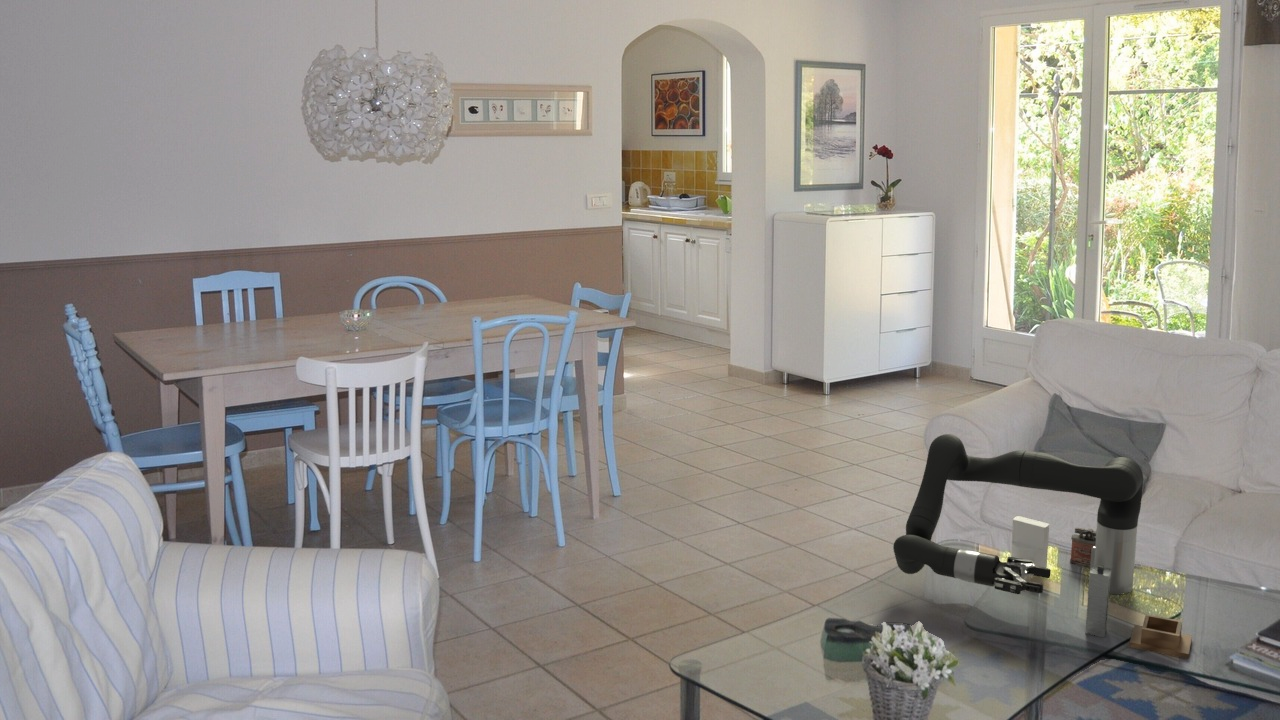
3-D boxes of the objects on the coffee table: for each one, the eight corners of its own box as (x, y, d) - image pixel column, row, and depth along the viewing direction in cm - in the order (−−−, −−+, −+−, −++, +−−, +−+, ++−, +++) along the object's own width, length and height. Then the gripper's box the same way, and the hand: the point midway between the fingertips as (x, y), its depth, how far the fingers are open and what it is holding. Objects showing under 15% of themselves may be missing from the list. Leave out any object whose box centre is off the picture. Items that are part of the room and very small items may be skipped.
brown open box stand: (1129, 646, 252) (1130, 628, 251) (1134, 629, 259) (1135, 610, 258) (1188, 658, 246) (1190, 639, 245) (1191, 640, 254) (1193, 621, 252)
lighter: (1103, 565, 291) (1106, 530, 289) (1101, 570, 289) (1103, 534, 286) (1071, 559, 296) (1073, 524, 293) (1068, 564, 293) (1070, 528, 290)
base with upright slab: (1052, 562, 294) (1055, 520, 291) (1037, 574, 288) (1040, 531, 285) (1020, 553, 300) (1022, 512, 297) (1004, 565, 294) (1006, 522, 291)
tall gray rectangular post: (1085, 633, 258) (1090, 567, 254) (1088, 626, 262) (1092, 560, 257) (1103, 637, 256) (1108, 571, 252) (1106, 629, 260) (1111, 564, 255)
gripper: (969, 565, 263) (1041, 579, 255) (984, 541, 275) (1053, 554, 267) (968, 593, 265) (1039, 608, 257) (982, 569, 277) (1051, 583, 269)
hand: (1046, 581), depth 262 cm, fingers open, 8 cm apart
